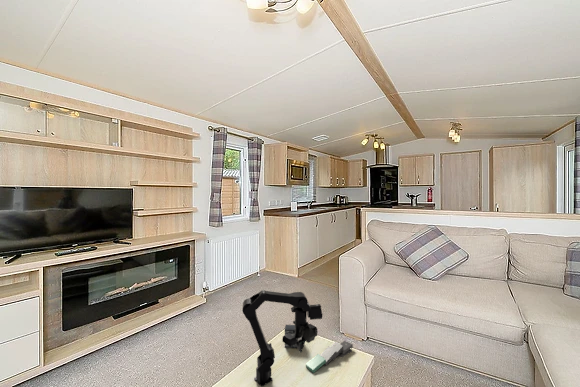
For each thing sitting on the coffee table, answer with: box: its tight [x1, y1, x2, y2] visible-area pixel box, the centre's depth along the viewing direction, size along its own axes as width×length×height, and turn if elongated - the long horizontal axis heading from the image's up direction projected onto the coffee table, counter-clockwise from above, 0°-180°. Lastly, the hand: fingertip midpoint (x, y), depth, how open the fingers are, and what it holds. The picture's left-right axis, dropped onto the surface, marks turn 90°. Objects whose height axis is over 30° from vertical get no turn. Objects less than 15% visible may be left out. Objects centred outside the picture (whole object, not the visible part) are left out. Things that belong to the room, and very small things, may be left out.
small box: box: [284, 324, 298, 349], centre depth 152 cm, size 11×6×10 cm, turn 84°
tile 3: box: [330, 340, 344, 361], centre depth 142 cm, size 2×6×9 cm
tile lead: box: [305, 353, 326, 374], centre depth 133 cm, size 2×6×9 cm
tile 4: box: [340, 340, 354, 354], centre depth 146 cm, size 2×6×9 cm
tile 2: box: [319, 346, 337, 366], centre depth 138 cm, size 2×6×9 cm
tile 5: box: [337, 348, 353, 358], centre depth 145 cm, size 2×6×9 cm
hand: (300, 351), depth 126 cm, fingers closed
